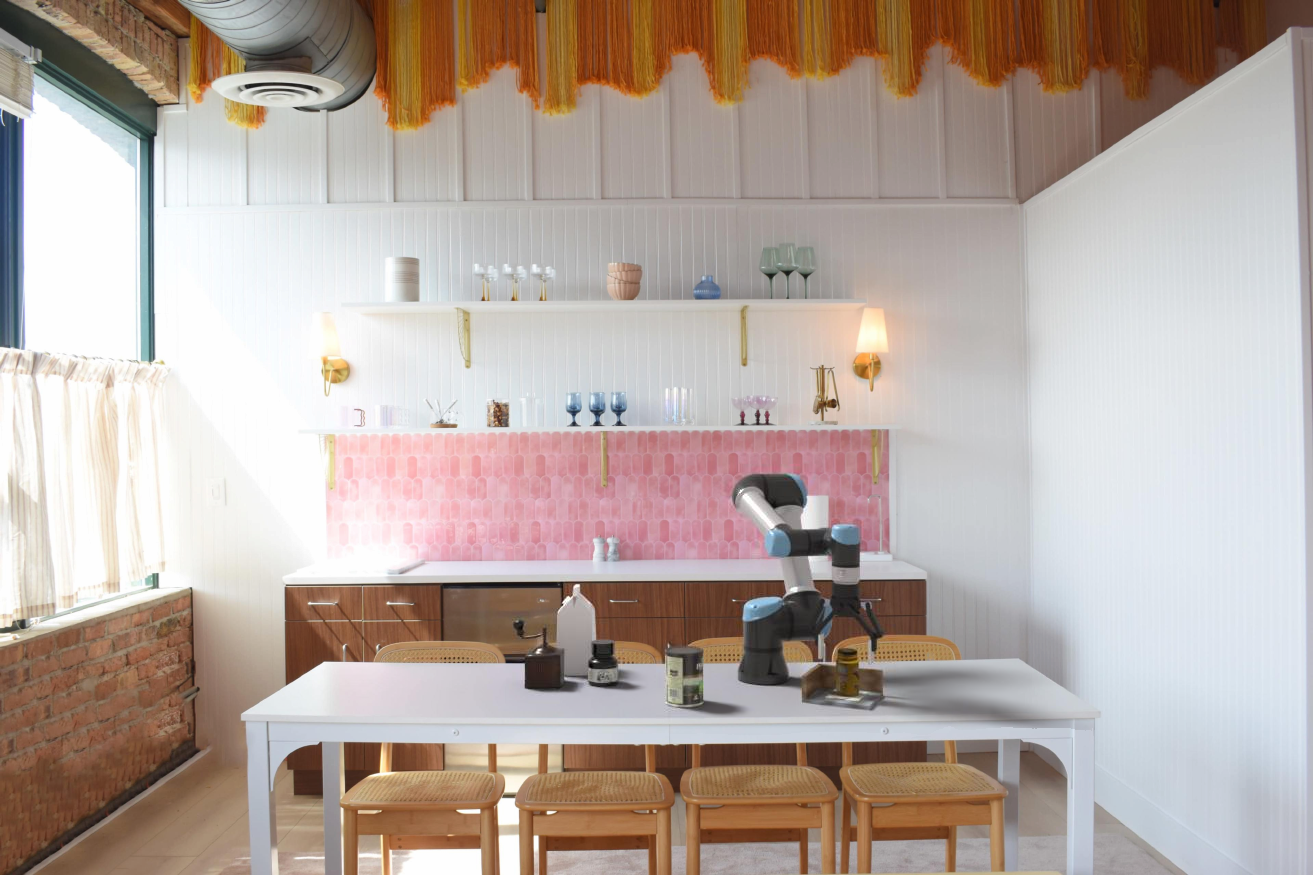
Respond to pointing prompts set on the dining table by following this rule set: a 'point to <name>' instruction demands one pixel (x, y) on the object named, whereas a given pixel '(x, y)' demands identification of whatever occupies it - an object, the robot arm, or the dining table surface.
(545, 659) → the manual coffee grinder
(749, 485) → the robot arm
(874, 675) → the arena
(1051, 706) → the dining table surface
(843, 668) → the condiment
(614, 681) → the ink bottle
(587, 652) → the milk
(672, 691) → the coffee can
